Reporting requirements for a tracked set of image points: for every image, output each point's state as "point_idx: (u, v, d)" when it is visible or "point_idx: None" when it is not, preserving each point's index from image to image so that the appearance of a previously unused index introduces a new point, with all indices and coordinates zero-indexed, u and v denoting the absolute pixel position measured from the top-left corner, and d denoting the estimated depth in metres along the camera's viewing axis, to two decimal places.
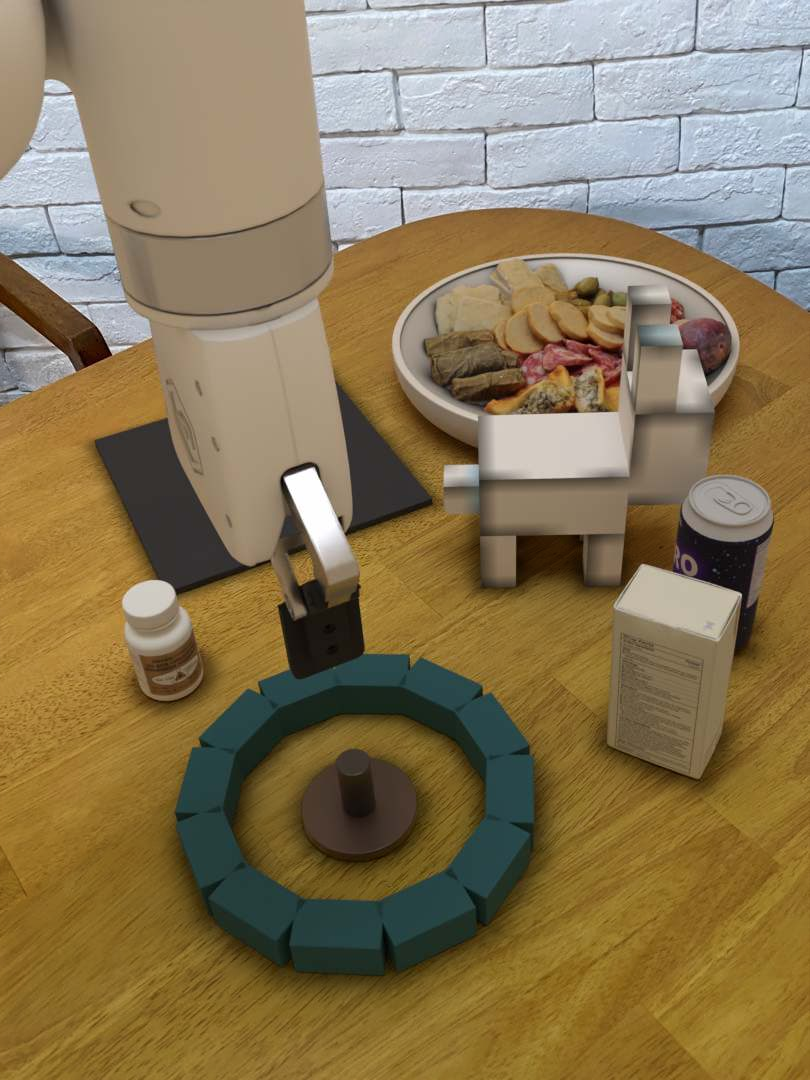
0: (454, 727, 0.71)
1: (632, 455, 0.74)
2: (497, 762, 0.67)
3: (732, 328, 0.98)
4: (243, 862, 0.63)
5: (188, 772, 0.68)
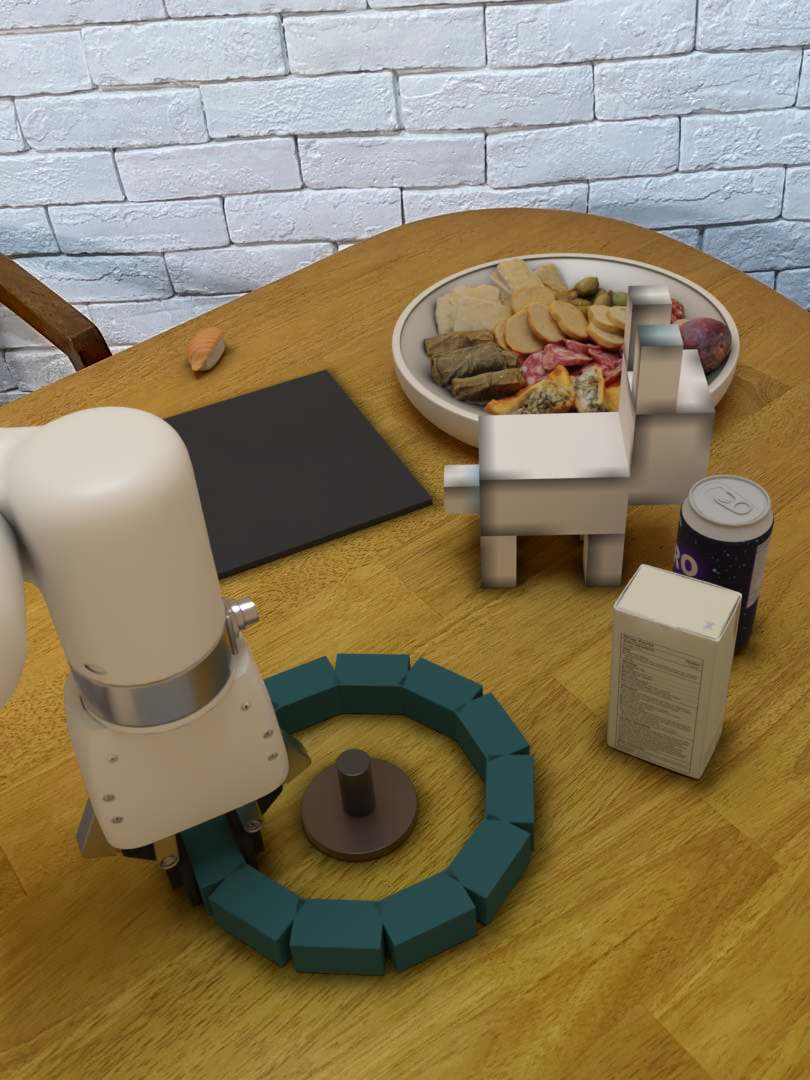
0: (454, 727, 0.71)
1: (632, 455, 0.74)
2: (497, 762, 0.67)
3: (732, 327, 0.98)
4: (243, 862, 0.63)
5: None
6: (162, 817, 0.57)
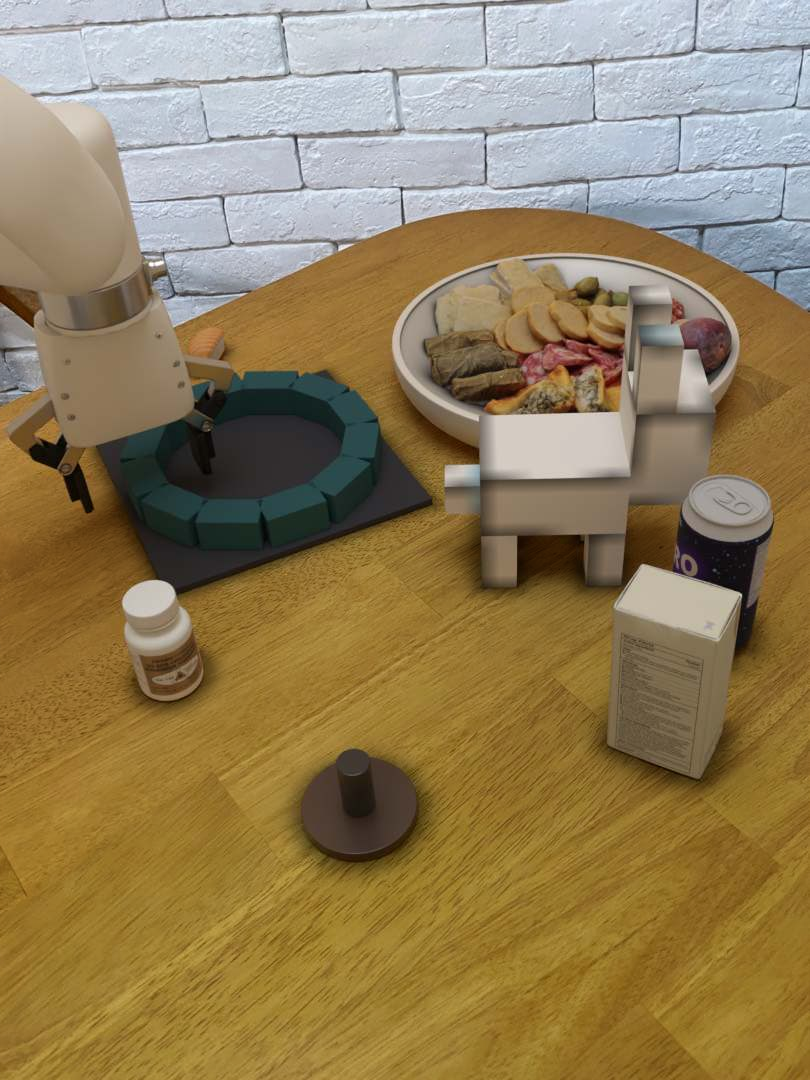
0: (327, 415, 0.97)
1: (633, 455, 0.74)
2: (353, 427, 0.93)
3: (732, 327, 0.98)
4: (166, 482, 0.89)
5: (131, 437, 0.93)
6: (103, 421, 0.82)
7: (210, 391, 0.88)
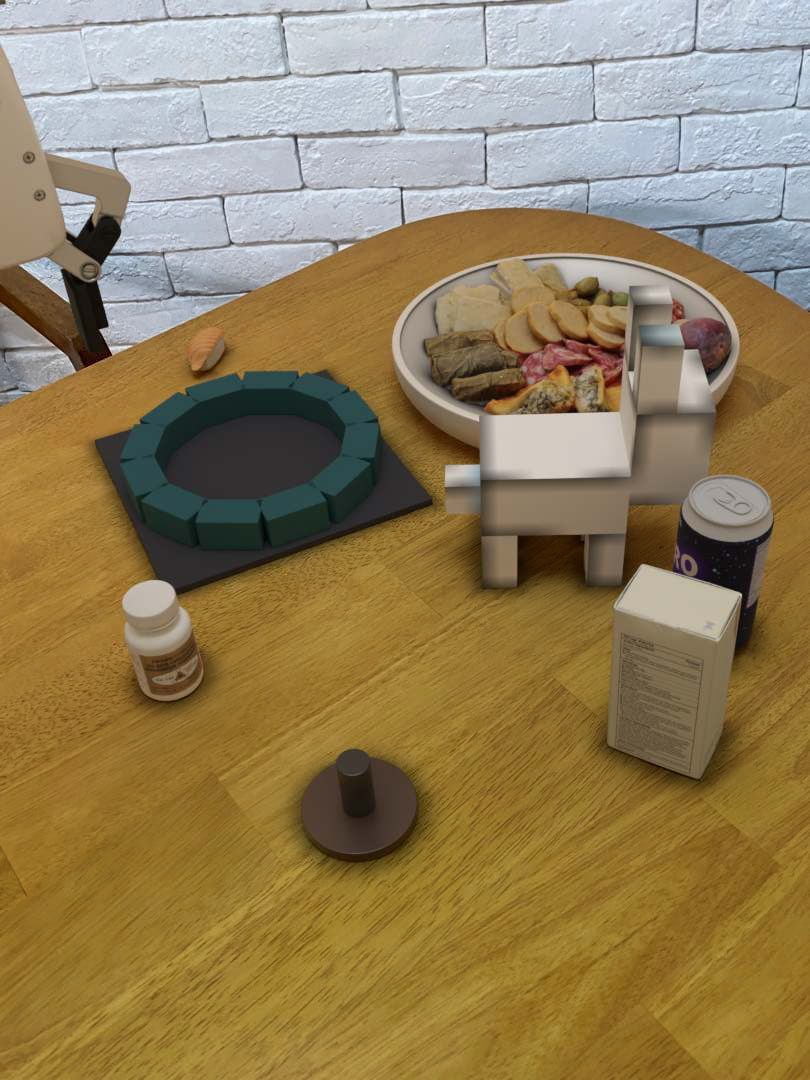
0: (327, 415, 0.97)
1: (633, 455, 0.74)
2: (353, 427, 0.93)
3: (732, 327, 0.98)
4: (166, 482, 0.89)
5: (131, 437, 0.93)
6: None
7: (95, 218, 0.57)
